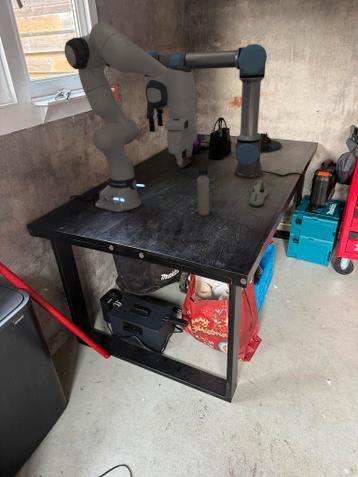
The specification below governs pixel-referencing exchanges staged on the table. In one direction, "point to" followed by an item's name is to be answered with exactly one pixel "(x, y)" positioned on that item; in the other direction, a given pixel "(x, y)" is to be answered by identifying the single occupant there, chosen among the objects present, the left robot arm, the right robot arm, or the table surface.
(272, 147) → the black shoe
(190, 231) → the table surface
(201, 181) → the ridged cream cylinder
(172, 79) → the left robot arm
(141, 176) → the table surface
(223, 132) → the handbag
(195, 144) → the decorative orb
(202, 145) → the pair of gloves
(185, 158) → the boot
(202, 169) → the cap
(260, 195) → the ballet flat
